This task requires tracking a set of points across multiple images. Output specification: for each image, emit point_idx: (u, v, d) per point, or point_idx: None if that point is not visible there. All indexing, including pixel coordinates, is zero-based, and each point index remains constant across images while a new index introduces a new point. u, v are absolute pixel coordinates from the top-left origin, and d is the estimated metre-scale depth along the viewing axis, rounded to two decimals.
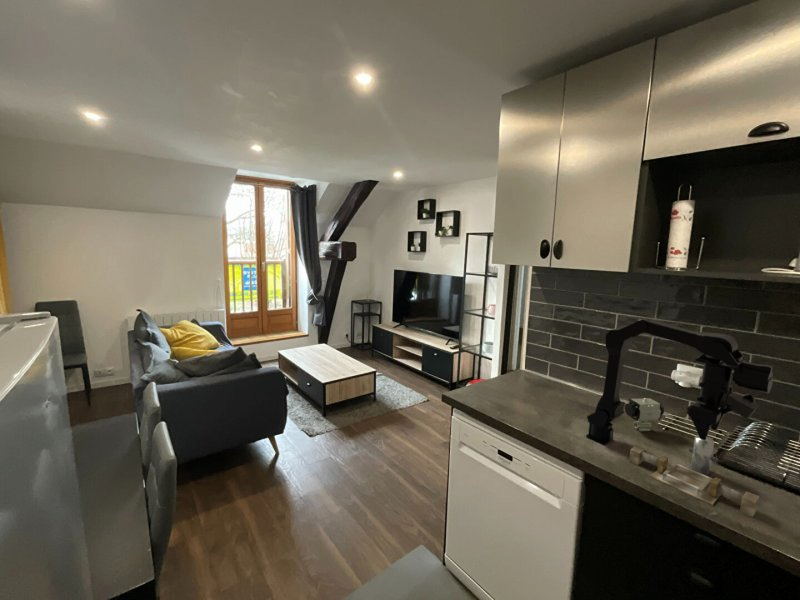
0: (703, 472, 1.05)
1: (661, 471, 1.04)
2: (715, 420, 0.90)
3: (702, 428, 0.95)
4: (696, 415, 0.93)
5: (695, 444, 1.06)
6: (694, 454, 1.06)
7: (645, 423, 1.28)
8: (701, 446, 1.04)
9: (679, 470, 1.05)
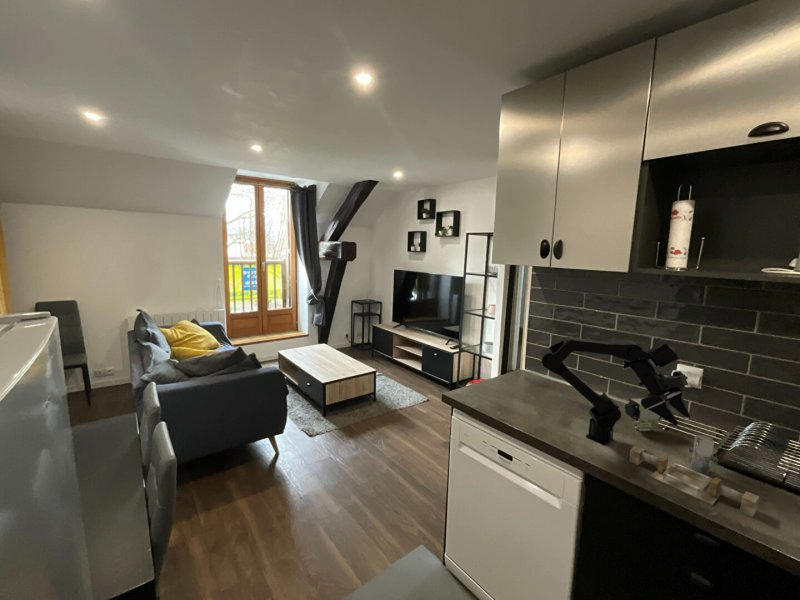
0: (703, 472, 1.05)
1: (661, 471, 1.04)
2: (661, 399, 1.06)
3: (666, 415, 1.08)
4: (649, 405, 1.08)
5: (695, 444, 1.06)
6: (694, 454, 1.06)
7: (645, 423, 1.28)
8: (701, 446, 1.04)
9: (679, 470, 1.05)
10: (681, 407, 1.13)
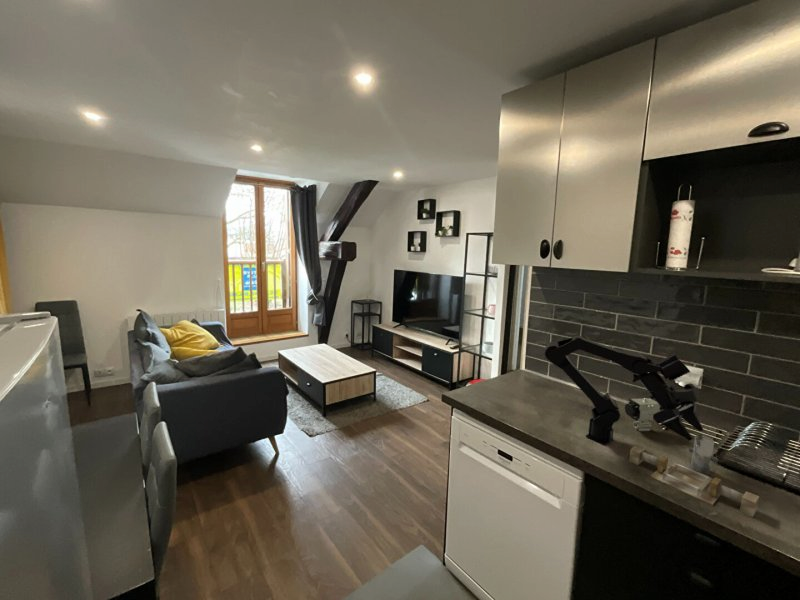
0: (703, 472, 1.05)
1: (661, 471, 1.04)
2: (674, 414, 1.04)
3: (680, 429, 1.05)
4: (662, 420, 1.06)
5: (695, 444, 1.06)
6: (694, 454, 1.06)
7: (645, 423, 1.28)
8: (701, 446, 1.04)
9: (679, 470, 1.05)
10: (693, 420, 1.11)
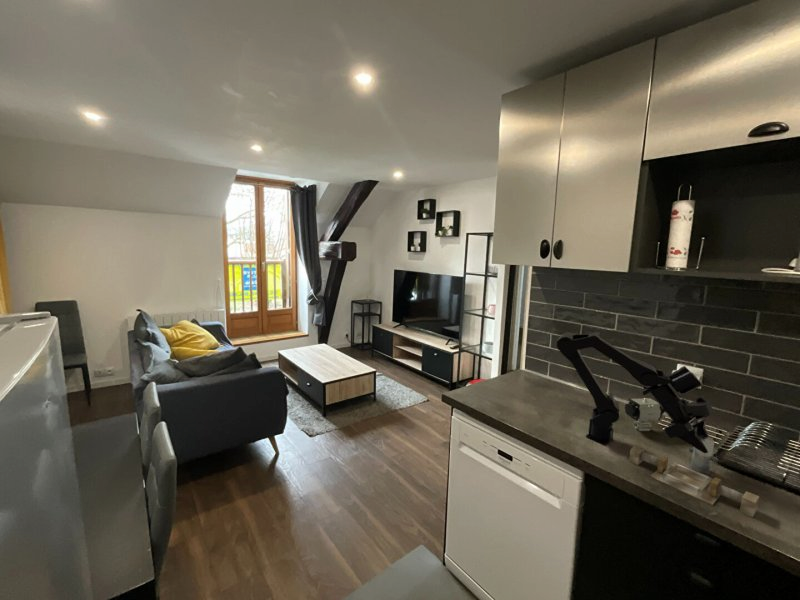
0: (703, 472, 1.05)
1: (661, 471, 1.04)
2: (686, 429, 1.01)
3: (695, 442, 1.04)
4: (674, 434, 1.04)
5: None
6: (694, 454, 1.06)
7: (645, 423, 1.28)
8: None
9: (679, 470, 1.05)
10: None
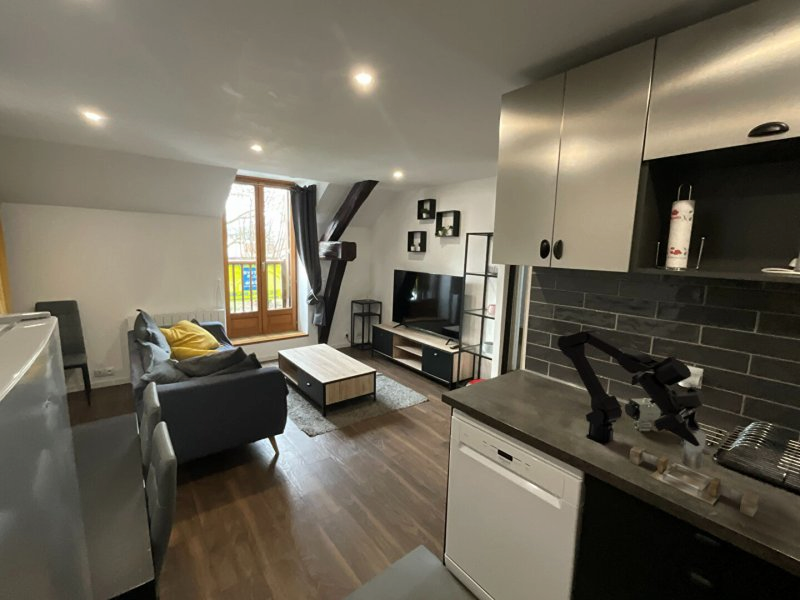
0: (695, 466, 0.99)
1: (661, 471, 1.04)
2: (677, 421, 0.95)
3: (686, 435, 0.98)
4: (664, 427, 0.97)
5: None
6: (685, 447, 1.00)
7: (645, 423, 1.28)
8: None
9: (679, 470, 1.05)
10: None
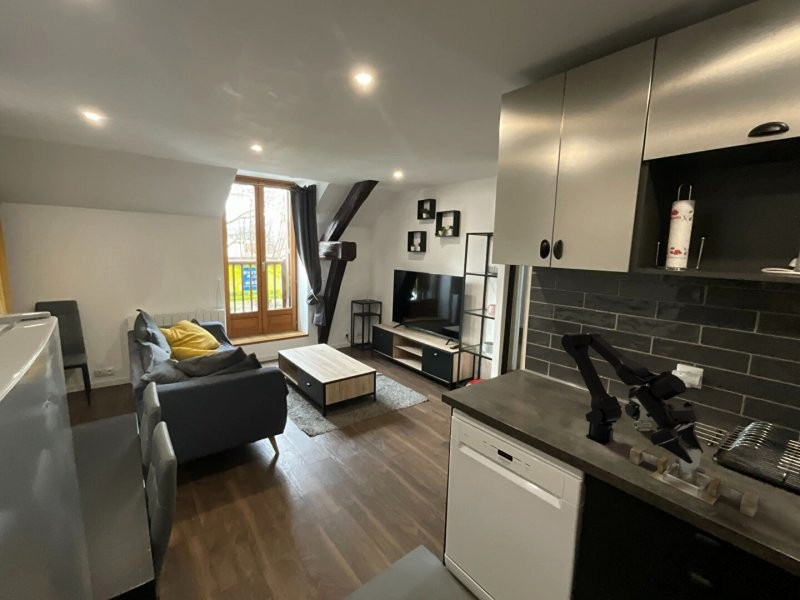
0: None
1: (661, 471, 1.04)
2: (672, 436, 0.95)
3: (679, 451, 0.97)
4: (659, 441, 0.97)
5: None
6: (680, 465, 1.00)
7: (645, 423, 1.28)
8: None
9: None
10: (693, 442, 1.02)
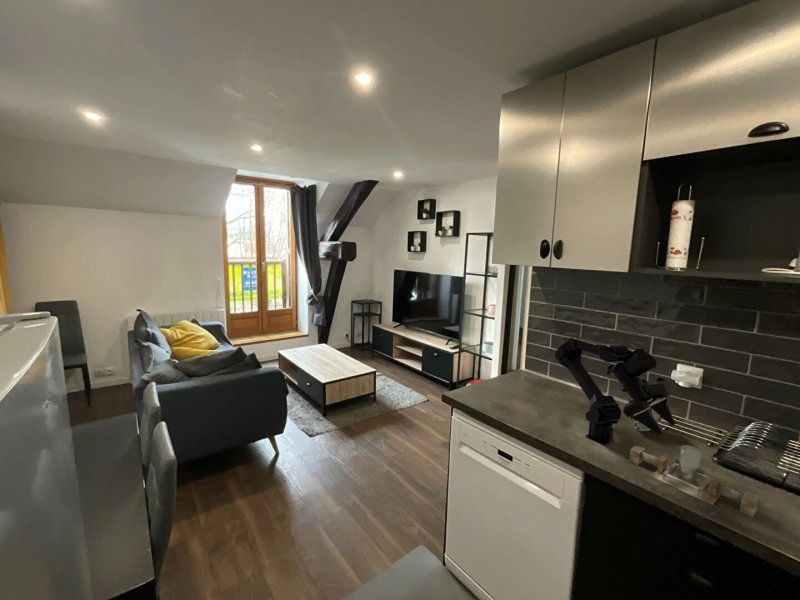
0: None
1: (661, 471, 1.04)
2: (643, 407, 1.01)
3: (650, 423, 1.02)
4: (631, 413, 1.03)
5: (681, 455, 1.00)
6: (680, 465, 1.00)
7: None
8: (687, 458, 0.98)
9: None
10: (666, 414, 1.08)
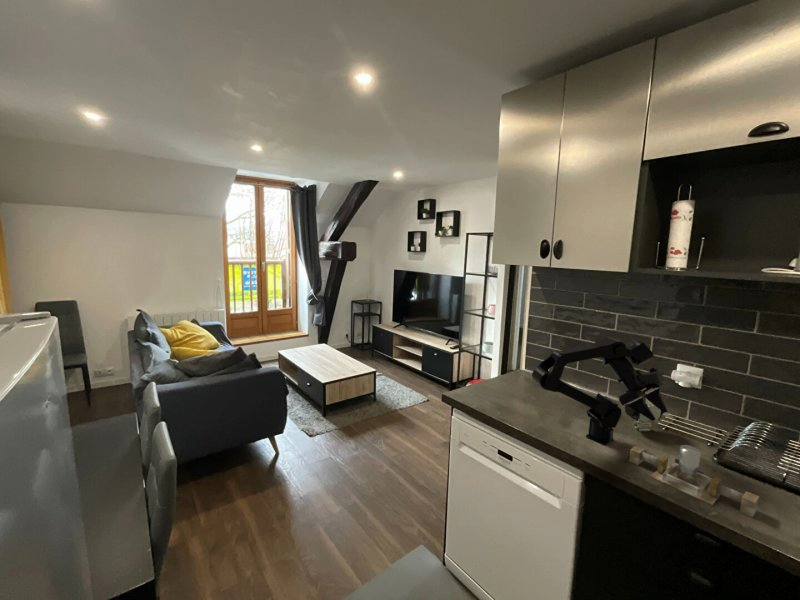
0: None
1: (661, 471, 1.04)
2: (637, 395, 1.08)
3: (644, 410, 1.10)
4: (626, 401, 1.11)
5: (680, 455, 1.00)
6: (680, 465, 1.00)
7: (645, 423, 1.28)
8: (686, 457, 0.98)
9: None
10: (659, 402, 1.16)
